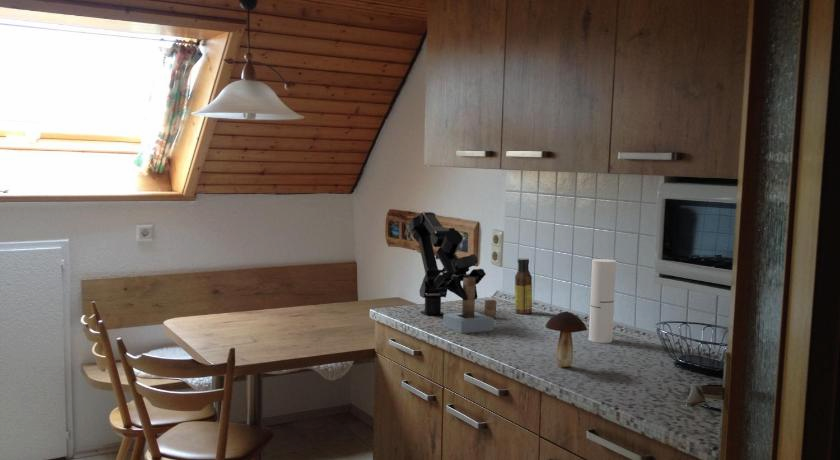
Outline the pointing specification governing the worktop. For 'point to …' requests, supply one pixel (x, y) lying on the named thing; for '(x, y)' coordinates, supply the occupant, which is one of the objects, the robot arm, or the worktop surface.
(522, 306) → the sauce bottle
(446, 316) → the sleeve block
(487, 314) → the short walnut pin
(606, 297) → the cylindrical container
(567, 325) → the decorative mushroom
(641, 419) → the worktop surface
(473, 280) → the tall walnut pin
